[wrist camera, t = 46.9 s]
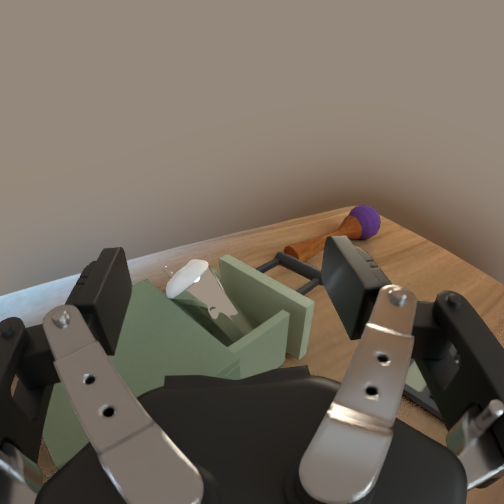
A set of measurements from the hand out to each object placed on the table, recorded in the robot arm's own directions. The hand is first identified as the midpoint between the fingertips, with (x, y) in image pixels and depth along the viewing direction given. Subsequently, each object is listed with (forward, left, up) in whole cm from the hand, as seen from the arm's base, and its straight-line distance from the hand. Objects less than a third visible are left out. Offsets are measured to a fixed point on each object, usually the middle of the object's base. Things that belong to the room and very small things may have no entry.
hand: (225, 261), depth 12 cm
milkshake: (-7, +7, -15) cm, 18 cm away
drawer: (-9, +8, -17) cm, 21 cm away
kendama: (-13, +34, -18) cm, 41 cm away
